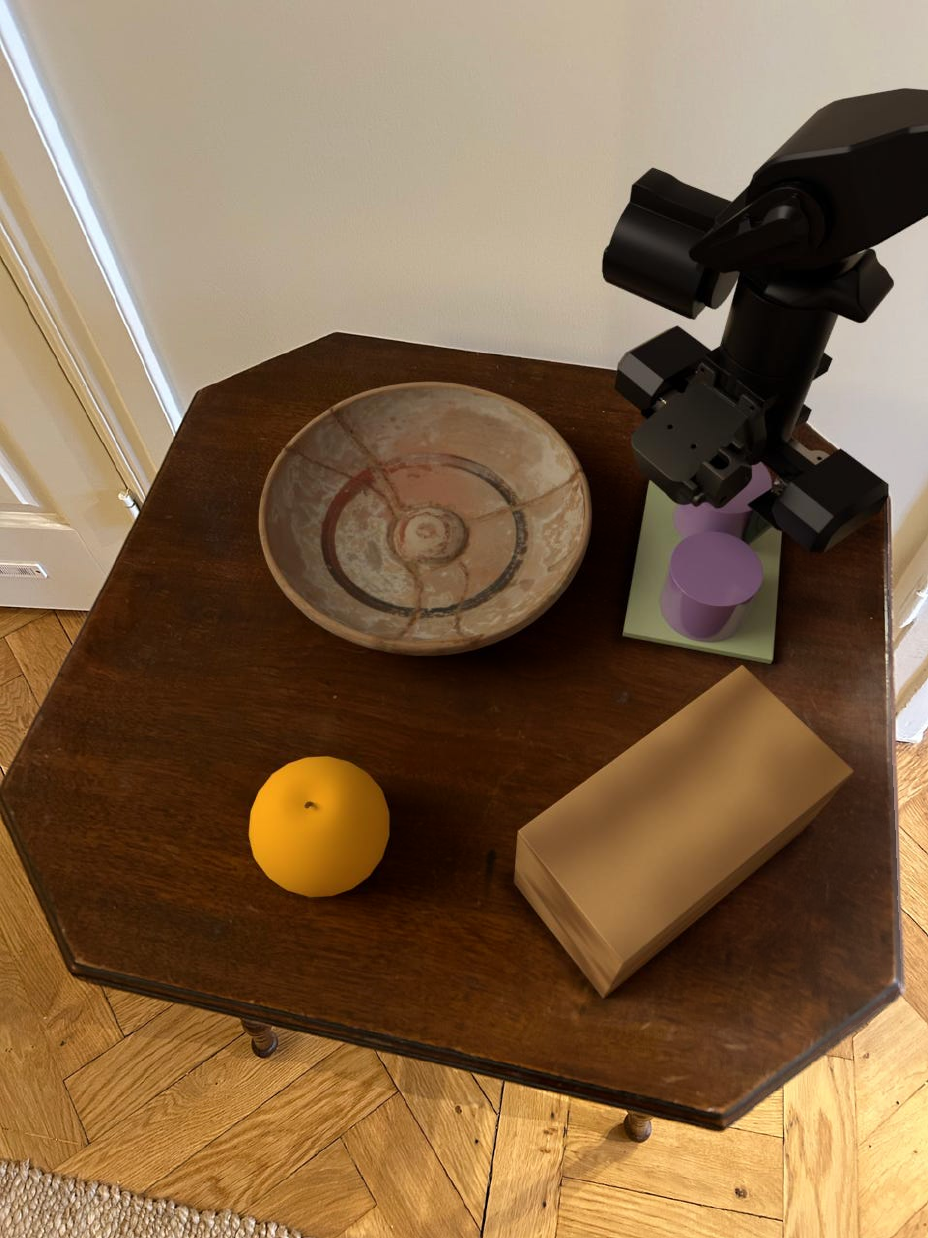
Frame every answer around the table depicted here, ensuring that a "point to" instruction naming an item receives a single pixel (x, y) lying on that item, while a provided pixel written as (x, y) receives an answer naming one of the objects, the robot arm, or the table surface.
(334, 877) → the orange
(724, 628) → the purple round puck
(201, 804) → the table surface
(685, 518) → the lavender cylinder puck
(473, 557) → the ceramic bowl
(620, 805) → the block
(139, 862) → the table surface
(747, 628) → the placemat
